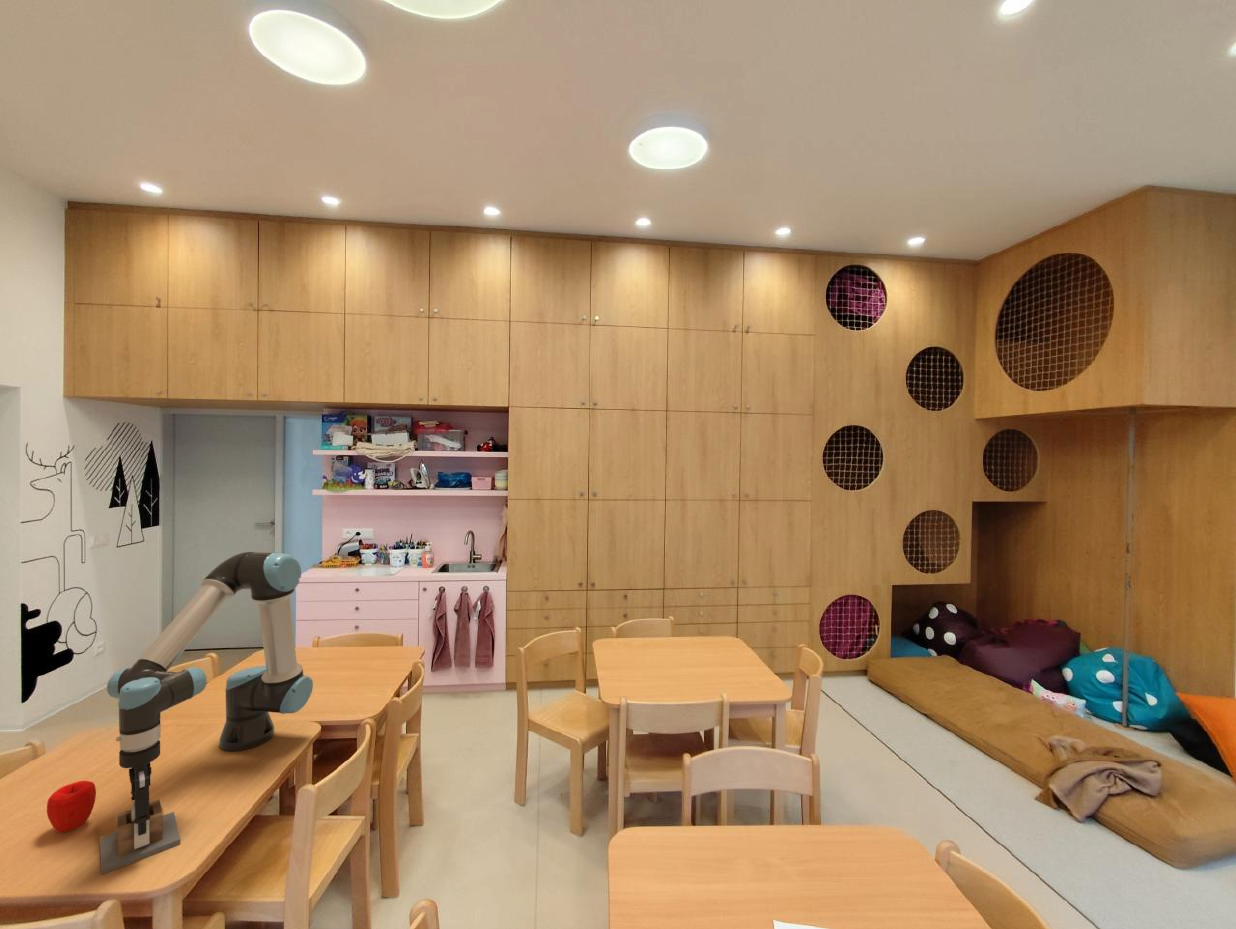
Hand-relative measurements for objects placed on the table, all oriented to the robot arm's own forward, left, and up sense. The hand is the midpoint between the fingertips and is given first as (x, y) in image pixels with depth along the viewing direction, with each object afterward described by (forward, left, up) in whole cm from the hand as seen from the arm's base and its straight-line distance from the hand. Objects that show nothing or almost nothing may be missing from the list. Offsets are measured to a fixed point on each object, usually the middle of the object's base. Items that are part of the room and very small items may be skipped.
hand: (140, 835), depth 131 cm
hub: (0, 0, -1) cm, 1 cm away
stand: (0, 0, -2) cm, 2 cm away
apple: (+12, -19, -2) cm, 23 cm away
